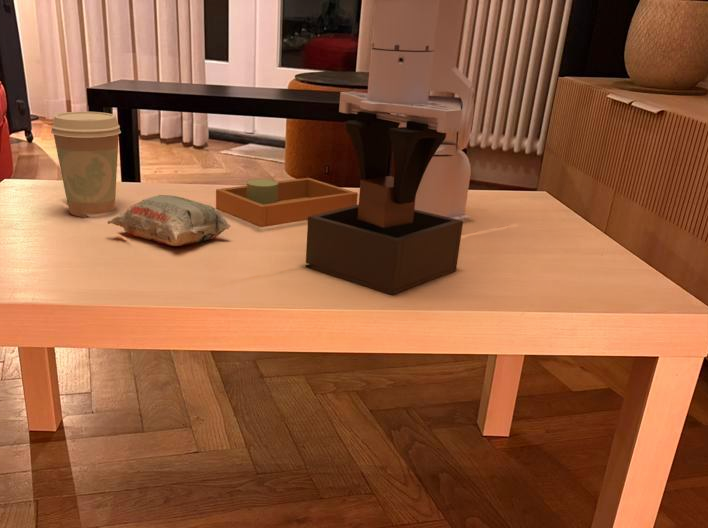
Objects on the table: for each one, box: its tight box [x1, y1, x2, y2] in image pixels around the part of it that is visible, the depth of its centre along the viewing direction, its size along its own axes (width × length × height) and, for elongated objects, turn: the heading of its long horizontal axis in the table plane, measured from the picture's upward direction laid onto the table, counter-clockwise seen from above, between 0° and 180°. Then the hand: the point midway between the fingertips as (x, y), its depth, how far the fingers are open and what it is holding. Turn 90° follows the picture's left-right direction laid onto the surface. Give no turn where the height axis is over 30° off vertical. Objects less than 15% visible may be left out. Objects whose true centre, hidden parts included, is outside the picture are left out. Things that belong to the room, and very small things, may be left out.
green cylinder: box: [246, 178, 279, 205], centre depth 100 cm, size 4×4×4 cm
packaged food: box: [107, 194, 231, 247], centre depth 89 cm, size 9×12×5 cm
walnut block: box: [357, 175, 416, 228], centre depth 77 cm, size 4×4×4 cm
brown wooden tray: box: [215, 177, 359, 228], centre depth 103 cm, size 16×11×3 cm
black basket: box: [305, 203, 464, 296], centre depth 82 cm, size 12×12×6 cm
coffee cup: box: [50, 111, 122, 218], centre depth 98 cm, size 9×8×12 cm
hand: (387, 197), depth 77 cm, fingers closed on walnut block, 4 cm apart
